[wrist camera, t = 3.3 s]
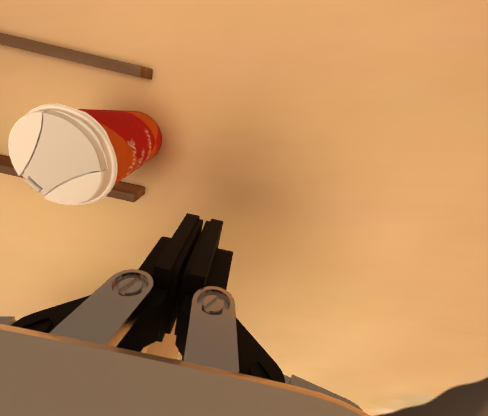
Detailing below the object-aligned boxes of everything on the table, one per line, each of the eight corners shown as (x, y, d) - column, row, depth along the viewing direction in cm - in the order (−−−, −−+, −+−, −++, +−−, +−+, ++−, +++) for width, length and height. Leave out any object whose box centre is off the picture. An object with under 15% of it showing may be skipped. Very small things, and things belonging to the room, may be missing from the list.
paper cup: (141, 178, 33) (66, 228, 20) (95, 130, 31) (-20, 152, 18) (184, 141, 31) (131, 170, 18) (138, 86, 29) (41, 75, 16)
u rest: (144, 193, 34) (134, 202, 31) (-15, 158, 33) (-39, 164, 31) (152, 69, 28) (140, 66, 25) (-40, 23, 28) (-74, 15, 25)
